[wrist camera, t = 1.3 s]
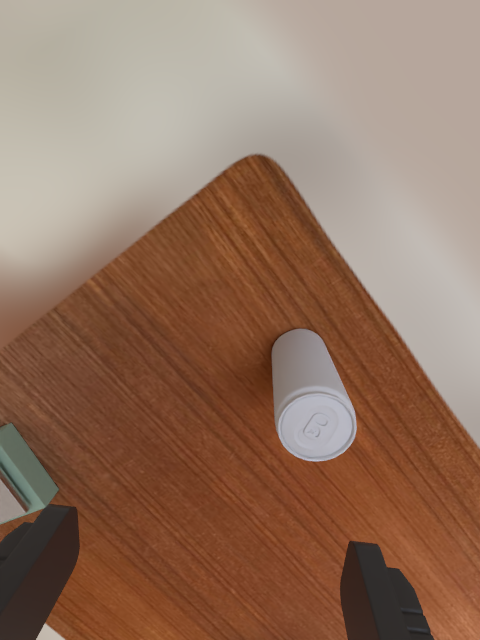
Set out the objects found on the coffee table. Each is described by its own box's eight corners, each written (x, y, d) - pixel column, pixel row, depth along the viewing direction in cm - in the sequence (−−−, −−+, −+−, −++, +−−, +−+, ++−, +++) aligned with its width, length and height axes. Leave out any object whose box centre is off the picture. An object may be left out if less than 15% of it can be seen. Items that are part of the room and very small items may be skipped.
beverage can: (261, 360, 33) (260, 441, 21) (288, 316, 31) (302, 376, 20) (307, 384, 33) (329, 476, 22) (336, 342, 32) (376, 415, 20)
